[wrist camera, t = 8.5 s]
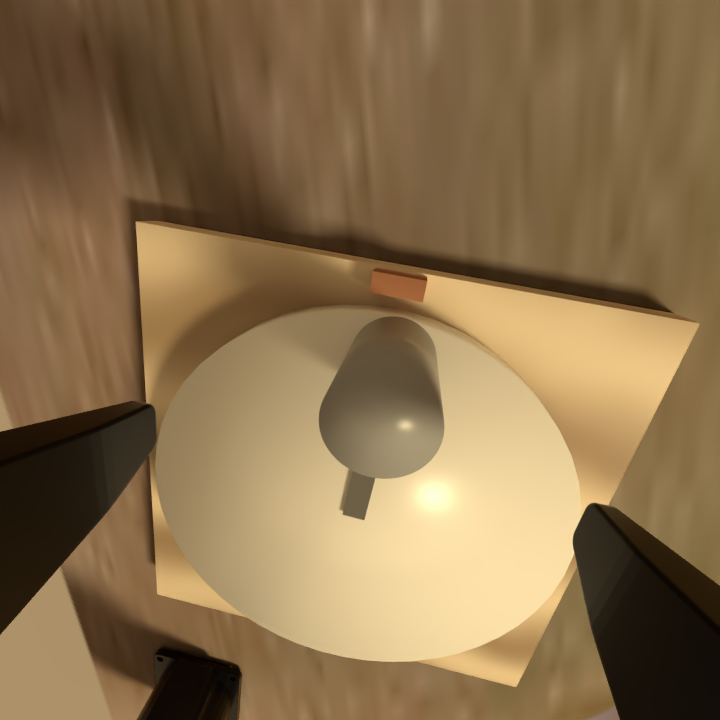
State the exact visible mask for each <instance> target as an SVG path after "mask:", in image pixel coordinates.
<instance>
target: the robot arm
mask: <svg viewBox="0 0 720 720" xmlns="http://www.w3.org/2000/svg"><path fill="white" fill-rule="evenodd" d="M156 440H157V429H156V411H155V408H154V406H152V405H151V404H147V403H143V402H138V401H130V402H125V403H121V404H117V405H113V406H108V407H104V408H100V409H96V410H91V411H87V412H83V413H79V414H74V415H70V416H66V417H61V418H57V419H53V420H49V421H44V422H40V423H36V424H32V425H27V426H23V427H19V428H14V429H10V430H6V431H2V432H0V634H1V633H2V632H3V631H4V630H5V629H6V628H7V626H8V625H9V624H10V623H11V622H12V621H13V620H14V618H15V617H16V616H17V615H18V614H19V613H20V612H21V610H22V609H23V608H24V607H25V606H26V605H27V604H28V602H29V601H30V600H31V599H32V598H33V597H34V596H35V594H36V593H37V592H38V591H39V590H40V589H41V588H42V586H43V585H44V584H45V583H46V582H47V581H48V579H49V578H50V577H51V576H52V575H53V574H54V573H55V571H56V570H57V569H58V568H59V567H60V566H61V565H62V564H63V562H64V561H65V560H66V559H67V558H68V557H69V555H70V554H71V553H72V552H73V551H74V550H75V549H76V547H77V546H78V545H79V544H80V543H81V542H82V541H83V539H84V538H85V537H86V536H87V535H88V534H89V533H90V531H91V530H92V529H93V528H94V527H95V526H96V525H97V523H98V522H99V521H100V520H101V519H102V518H103V516H104V515H105V514H106V513H107V512H108V510H109V509H110V508H111V507H112V505H113V504H114V503H115V501H116V500H117V499H118V497H119V496H120V495H121V493H122V492H123V490H124V489H125V488H126V486H127V485H128V483H129V482H130V481H131V479H132V478H133V476H134V475H135V474H136V472H137V471H138V470H139V468H140V467H141V465H142V464H143V463H144V461H145V460H146V458H147V457H148V456H149V454H150V453H151V451H152V450H153V448H154V446H155V444H156ZM573 550H574V554H575V559H576V563H577V568H578V573H579V577H580V582H581V587H582V591H583V596H584V600H585V605H586V610H587V614H588V618H589V622H590V626H591V630H592V633H593V637H594V640H595V643H596V646H597V649H598V653H599V656H600V659H601V662H602V665H603V668H604V671H605V674H606V678H607V681H608V684H609V687H610V690H611V693H612V696H613V699H614V702H615V706H616V709H617V712H618V715H619V718H620V720H720V586H719V585H718V584H717V583H715V582H714V581H713V580H711V579H710V578H709V577H707V576H706V575H705V574H703V573H702V572H701V571H699V570H698V569H697V568H695V567H694V566H693V565H691V564H690V563H689V562H687V561H686V560H685V559H683V558H682V557H681V556H679V555H678V554H677V553H675V552H674V551H673V550H671V549H670V548H669V547H667V546H666V545H665V544H663V543H662V542H661V541H659V540H658V539H657V538H655V537H654V536H653V535H651V534H650V533H649V532H647V531H646V530H645V529H643V528H642V527H641V526H639V525H638V524H637V523H635V522H634V521H633V520H631V519H630V518H629V517H627V516H626V515H625V514H623V513H622V512H621V511H619V510H618V509H617V508H615V507H612V506H608V505H604V504H599V503H590V504H589V505H588V506H587V507H586V509H585V511H584V513H583V515H582V517H581V519H580V521H579V523H578V525H577V527H576V529H575V531H574V534H573ZM154 671H155V685H156V686H155V688H154V690H153V692H152V693H151V695H150V697H149V699H148V700H147V702H146V704H145V706H144V708H143V709H142V711H141V713H140V715H139V717H138V718H137V720H239V710H240V695H241V680H242V673H241V672H240V671H239V670H238V669H235V668H231V667H227V666H224V665H220V664H216V663H213V662H209V661H205V660H202V659H198V658H194V657H191V656H187V655H183V654H179V653H176V652H172V651H168V650H165V649H158V650H157V652H156V653H155V655H154Z"/></svg>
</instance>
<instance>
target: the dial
mask: <svg viewBox="0 0 720 720" xmlns="http://www.w3.org/2000/svg"><path fill="white" fill-rule="evenodd" d="M155 472H156V484H157V491H158V495H159V500H160V504H161V509H162V511H163V514H164V517H165V519H166V522H167V525H168V527H169V530H170V532H171V533H172V535H173V537H174V539H175V541H176V543H177V545H178V547H179V549H180V550H181V552H182V553H183V554H184V556H185V557H186V559H187V560H188V562H189V563H190V565H191V566H192V567H193V569H194V570H195V571H196V572H197V573H198V574H199V576H200V577H201V578H202V579H203V580H204V582H205V583H206V584H207V585H208V586H210V587H211V588H212V589H213V590H214V591H215V592H216V593H217V594H218V595H219V596H220V597H221V598H222V599H223V600H225V601H226V602H227V603H228V604H230V605H231V606H232V607H233V608H235V609H236V610H237V611H238V612H240V613H241V614H243V615H245V616H246V617H248V618H249V619H251V620H252V621H254V622H255V623H257V624H258V625H260V626H262V627H264V628H266V629H268V630H270V631H271V632H273V633H275V634H277V635H279V636H282V637H284V638H286V639H288V640H291V641H293V642H295V643H298V644H300V645H303V646H306V647H309V648H312V649H315V650H318V651H322V652H326V653H330V654H334V655H338V656H342V657H348V658H355V659H361V660H370V661H385V662H401V661H418V660H427V659H435V658H440V657H445V656H449V655H454V654H458V653H461V652H464V651H467V650H470V649H473V648H476V647H479V646H481V645H484V644H486V643H488V642H490V641H492V640H494V639H497V638H499V637H501V636H502V635H504V634H506V633H507V632H509V631H510V630H512V629H514V628H515V627H517V626H519V625H520V624H521V623H522V622H524V621H525V620H526V619H527V618H528V617H530V616H531V615H532V614H533V613H535V612H536V611H537V610H538V609H539V608H540V607H541V605H542V604H543V603H544V602H545V601H546V600H547V599H548V598H549V597H550V596H551V595H552V593H553V592H554V590H555V589H556V587H557V586H558V584H559V583H560V581H561V580H562V578H563V577H564V575H565V573H566V571H567V569H568V566H569V564H570V562H571V560H572V558H573V555H574V550H573V534H574V531H575V529H576V527H577V525H578V523H579V521H580V519H581V509H582V507H581V497H580V486H579V480H578V477H577V473H576V469H575V466H574V462H573V459H572V456H571V454H570V451H569V449H568V447H567V445H566V443H565V441H564V439H563V436H562V434H561V432H560V430H559V429H558V427H557V426H556V424H555V422H554V421H553V419H552V418H551V416H550V415H549V413H548V412H547V410H546V409H545V407H544V406H543V404H542V403H541V401H540V400H539V398H538V397H537V395H536V394H535V392H534V391H533V389H532V388H531V387H530V386H529V385H528V384H527V383H526V382H525V380H524V379H523V378H522V377H521V376H520V375H519V374H518V373H517V372H516V371H515V370H514V368H513V367H511V366H510V365H509V364H508V363H506V362H505V361H504V360H503V359H502V358H500V357H499V356H498V355H497V354H496V353H494V352H493V351H492V350H491V349H489V348H488V347H486V346H485V345H483V344H481V343H480V342H478V341H476V340H475V339H473V338H472V337H470V336H468V335H467V334H465V333H463V332H461V331H459V330H457V329H455V328H452V327H450V326H448V325H446V324H443V323H441V322H439V321H437V320H434V319H431V318H428V317H425V316H421V315H418V314H415V313H411V312H408V311H405V310H399V309H393V308H387V307H381V306H375V305H351V304H339V305H329V306H319V307H311V308H307V309H303V310H298V311H294V312H290V313H286V314H283V315H280V316H278V317H275V318H273V319H270V320H268V321H265V322H263V323H260V324H258V325H256V326H255V327H253V328H251V329H249V330H248V331H246V332H244V333H242V334H241V335H239V336H237V337H236V338H234V339H233V340H231V341H230V342H228V343H227V344H225V345H224V346H222V347H221V348H220V349H218V350H217V351H216V352H215V353H213V354H212V355H211V356H210V357H208V358H207V359H206V360H205V361H203V362H202V363H201V364H200V365H199V366H198V367H197V368H196V369H195V370H194V371H193V372H192V374H191V375H190V376H189V377H188V378H187V379H186V380H185V381H184V382H183V384H182V385H181V387H180V389H179V390H178V392H177V393H176V395H175V396H174V398H173V400H172V401H171V403H170V405H169V408H168V410H167V412H166V415H165V417H164V419H163V422H162V425H161V429H160V433H159V437H158V441H157V447H156V461H155Z"/></svg>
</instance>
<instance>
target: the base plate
mask: <svg viewBox="0 0 720 720" xmlns="http://www.w3.org/2000/svg"><path fill="white" fill-rule="evenodd" d="M136 234H137V251H138V268H139V285H140V303H141V320H142V337H143V354H144V372H145V389H146V403H147V404H151V405H152V406H154V408H155V411H156V429H157V440H156V444H155V446H154V448H153V450H152V451H151V453H150V454H149V458H150V475H151V492H152V509H153V527H154V544H155V561H156V578H157V594H159V595H162V596H166V597H170V598H174V599H178V600H182V601H186V602H189V603H193V604H197V605H201V606H205V607H209V608H213V609H216V610H220V611H224V612H228V613H232V614H236V615H240V616H243V617H246V616H245V615H243V614H241V613H240V612H238V611H237V610H236V609H235V608H233V607H232V606H231V605H230V604H228V603H227V602H226V601H225V600H223V599H222V598H221V597H220V596H219V595H218V594H217V593H216V592H215V591H214V590H213V589H212V588H211V587H210V586H208V585H207V584H206V583H205V582H204V580H203V579H202V578H201V577H200V576H199V574H198V573H197V572H196V571H195V570H194V569H193V567H192V566H191V565H190V563H189V562H188V560H187V559H186V557H185V556H184V554H183V553H182V552H181V550H180V549H179V547H178V545H177V543H176V541H175V539H174V537H173V535H172V533H171V532H170V530H169V527H168V525H167V522H166V519H165V517H164V514H163V511H162V509H161V504H160V500H159V495H158V491H157V484H156V472H155V461H156V447H157V441H158V437H159V433H160V429H161V425H162V422H163V419H164V417H165V415H166V412H167V410H168V408H169V405H170V403H171V401H172V400H173V398H174V396H175V395H176V393H177V392H178V390H179V389H180V387H181V385H182V384H183V382H184V381H185V380H186V379H187V378H188V377H189V376H190V375H191V374H192V372H193V371H194V370H195V369H196V368H197V367H198V366H199V365H200V364H201V363H202V362H203V361H205V360H206V359H207V358H208V357H210V356H211V355H212V354H213V353H215V352H216V351H217V350H218V349H220V348H221V347H222V346H224V345H225V344H227V343H228V342H230V341H231V340H233V339H234V338H236V337H237V336H239V335H241V334H242V333H244V332H246V331H248V330H249V329H251V328H253V327H255V326H256V325H258V324H260V323H263V322H265V321H268V320H270V319H273V318H275V317H278V316H280V315H283V314H286V313H290V312H294V311H298V310H303V309H307V308H311V307H319V306H329V305H339V304H351V305H375V306H381V307H387V308H393V309H399V310H405V311H408V312H411V313H415V314H418V315H421V316H425V317H428V318H431V319H434V320H437V321H439V322H441V323H443V324H446V325H448V326H450V327H452V328H455V329H457V330H459V331H461V332H463V333H465V334H467V335H468V336H470V337H472V338H473V339H475V340H476V341H478V342H480V343H481V344H483V345H485V346H486V347H488V348H489V349H491V350H492V351H493V352H494V353H496V354H497V355H498V356H499V357H500V358H502V359H503V360H504V361H505V362H506V363H508V364H509V365H510V366H511V367H513V368H514V370H515V371H516V372H517V373H518V374H519V375H520V376H521V377H522V378H523V379H524V380H525V382H526V383H527V384H528V385H529V386H530V387H531V388H532V389H533V391H534V392H535V394H536V395H537V397H538V398H539V400H540V401H541V403H542V404H543V406H544V407H545V409H546V410H547V412H548V413H549V415H550V416H551V418H552V419H553V421H554V422H555V424H556V426H557V427H558V429H559V430H560V432H561V434H562V436H563V439H564V441H565V443H566V445H567V447H568V449H569V451H570V454H571V456H572V459H573V462H574V466H575V469H576V473H577V477H578V480H579V486H580V497H581V507H582V509H581V517H582V515H583V513H584V511H585V509H586V507H587V506H588V505H589V504H590V503H599V504H604V505H608V504H609V502H610V501H611V499H612V497H613V495H614V493H615V491H616V489H617V487H618V485H619V483H620V481H621V479H622V477H623V475H624V473H625V471H626V469H627V467H628V465H629V463H630V461H631V459H632V457H633V455H634V453H635V451H636V449H637V447H638V445H639V443H640V441H641V439H642V437H643V435H644V433H645V431H646V429H647V427H648V425H649V423H650V421H651V419H652V417H653V416H654V414H655V412H656V410H657V408H658V406H659V404H660V402H661V400H662V398H663V396H664V394H665V392H666V390H667V388H668V386H669V384H670V382H671V380H672V378H673V376H674V374H675V372H676V370H677V368H678V366H679V364H680V362H681V360H682V358H683V356H684V354H685V352H686V350H687V348H688V346H689V344H690V342H691V340H692V338H693V336H694V334H695V333H696V331H697V329H698V327H699V325H700V323H698V322H695V321H693V320H690V319H687V318H685V317H682V316H680V315H677V314H675V313H669V312H664V311H658V310H652V309H647V308H641V307H636V306H630V305H625V304H619V303H614V302H608V301H602V300H597V299H591V298H586V297H580V296H575V295H569V294H563V293H558V292H552V291H547V290H541V289H536V288H530V287H525V286H519V285H513V284H508V283H502V282H497V281H491V280H486V279H480V278H474V277H469V276H463V275H458V274H452V273H447V272H441V271H436V270H430V269H424V268H419V267H413V266H408V265H402V264H397V263H391V262H385V261H380V260H374V259H369V258H363V257H358V256H352V255H347V254H341V253H335V252H330V251H324V250H319V249H313V248H308V247H302V246H296V245H291V244H285V243H280V242H274V241H269V240H263V239H258V238H252V237H246V236H241V235H235V234H230V233H224V232H219V231H213V230H207V229H202V228H196V227H191V226H185V225H180V224H174V223H169V222H163V221H136ZM576 568H577V563H576V559H575V554H574V555H573V558H572V560H571V562H570V564H569V566H568V569H567V571H566V573H565V575H564V577H563V578H562V580H561V581H560V583H559V584H558V586H557V587H556V589H555V590H554V592H553V593H552V595H551V596H550V597H549V598H548V599H547V600H546V601H545V602H544V603H543V604H542V605H541V607H540V608H539V609H538V610H537V611H536V612H535V613H533V614H532V615H531V616H530V617H528V618H527V619H526V620H525V621H524V622H522V623H521V624H520V625H519V626H517V627H515V628H514V629H512V630H510V631H509V632H507V633H506V634H504V635H502V636H501V637H499V638H497V639H494V640H492V641H490V642H488V643H486V644H484V645H481V646H479V647H476V648H473V649H470V650H467V651H464V652H461V653H458V654H454V655H449V656H445V657H440V658H435V659H427V660H418V661H417V662H421V663H425V664H429V665H433V666H436V667H440V668H444V669H448V670H452V671H456V672H460V673H463V674H467V675H471V676H475V677H479V678H483V679H487V680H490V681H494V682H498V683H502V684H506V685H510V686H514V687H516V686H517V684H518V682H519V680H520V678H521V676H522V674H523V672H524V670H525V669H526V667H527V665H528V663H529V661H530V659H531V657H532V655H533V653H534V651H535V649H536V647H537V645H538V643H539V641H540V639H541V637H542V635H543V633H544V631H545V629H546V627H547V625H548V623H549V621H550V619H551V617H552V615H553V613H554V611H555V609H556V607H557V605H558V603H559V601H560V599H561V597H562V595H563V593H564V591H565V589H566V587H567V585H568V584H569V582H570V580H571V578H572V576H573V574H574V572H575V570H576ZM247 618H248V617H247Z"/></svg>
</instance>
